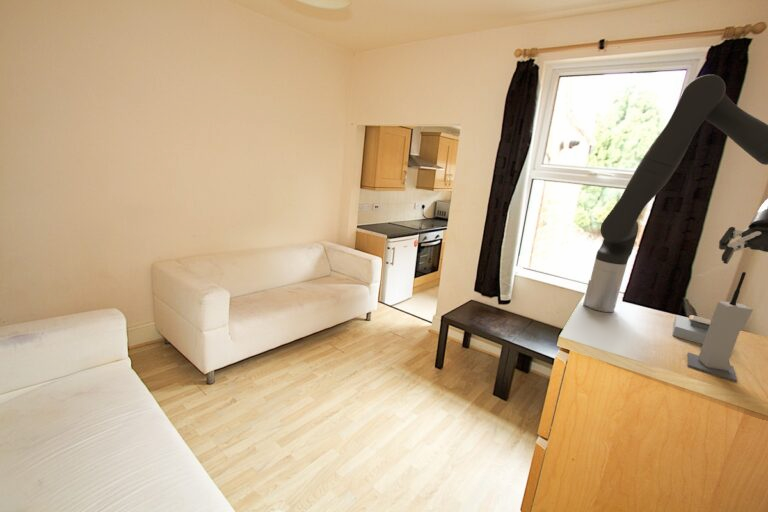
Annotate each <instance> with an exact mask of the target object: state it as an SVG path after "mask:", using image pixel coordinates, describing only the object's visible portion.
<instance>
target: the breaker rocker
mask: <svg viewBox="0 0 768 512" xmlns="http://www.w3.org/2000/svg"><path fill="white" fill-rule="evenodd" d="M688 318H689V319H692V320H696V321H700V322H704V323H707V324H710V323H711V320H712V319H709V318H706V317H702V316H697V315H695V314H694V315H692V314H691V315H689V317H688Z"/></svg>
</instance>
